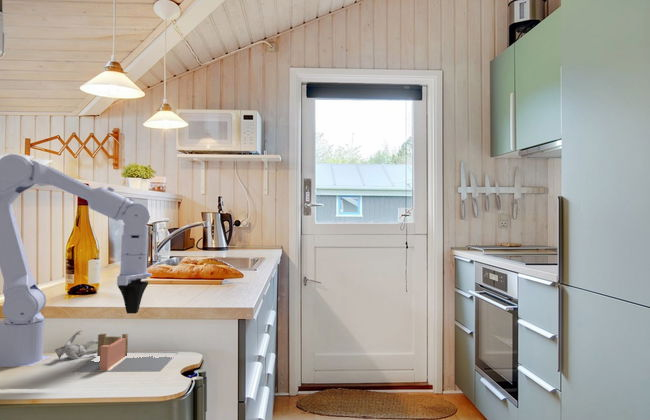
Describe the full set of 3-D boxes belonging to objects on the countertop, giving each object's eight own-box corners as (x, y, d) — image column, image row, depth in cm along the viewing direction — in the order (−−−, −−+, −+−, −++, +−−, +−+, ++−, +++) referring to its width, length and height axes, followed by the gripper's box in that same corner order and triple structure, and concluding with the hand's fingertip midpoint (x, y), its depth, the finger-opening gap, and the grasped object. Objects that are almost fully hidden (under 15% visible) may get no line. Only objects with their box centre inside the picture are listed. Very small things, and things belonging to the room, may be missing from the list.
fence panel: (119, 356, 98) (120, 335, 98) (126, 356, 98) (126, 335, 98) (99, 369, 88) (100, 346, 89) (107, 369, 88) (107, 346, 89)
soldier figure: (115, 357, 104) (81, 353, 93) (98, 371, 103) (61, 369, 92) (100, 331, 107) (65, 325, 96) (84, 344, 106) (47, 340, 95)
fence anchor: (97, 356, 98) (98, 334, 98) (99, 355, 99) (100, 333, 99) (126, 356, 98) (126, 334, 99) (128, 355, 100) (128, 333, 100)
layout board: (72, 374, 87) (72, 371, 88) (102, 355, 101) (102, 352, 101) (160, 374, 89) (160, 370, 89) (178, 354, 103) (178, 351, 103)
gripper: (141, 256, 97) (139, 319, 96) (160, 253, 112) (159, 307, 111) (108, 256, 97) (105, 319, 96) (132, 252, 111) (130, 307, 110)
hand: (132, 313), depth 103 cm, fingers closed
